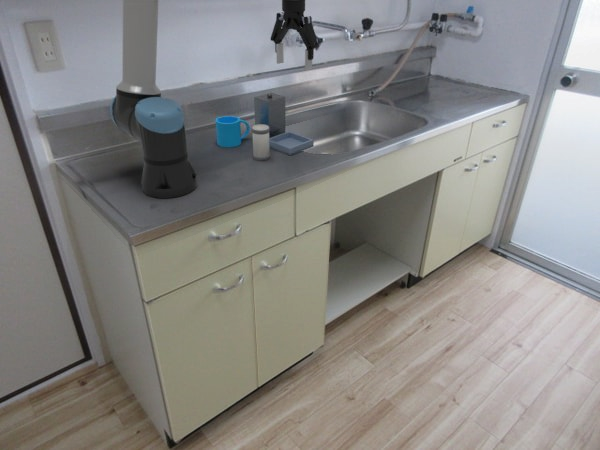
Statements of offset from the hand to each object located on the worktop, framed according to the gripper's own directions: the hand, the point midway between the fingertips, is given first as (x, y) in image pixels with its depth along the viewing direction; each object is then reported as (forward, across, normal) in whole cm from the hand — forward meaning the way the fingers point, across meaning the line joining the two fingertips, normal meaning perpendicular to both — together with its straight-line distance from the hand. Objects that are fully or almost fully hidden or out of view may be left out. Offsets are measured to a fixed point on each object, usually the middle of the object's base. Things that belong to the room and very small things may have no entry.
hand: (293, 66), depth 158 cm
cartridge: (+22, -11, +27) cm, 37 cm away
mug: (+22, +5, +25) cm, 34 cm away
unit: (+22, 0, +12) cm, 25 cm away
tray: (+22, -11, +14) cm, 29 cm away
